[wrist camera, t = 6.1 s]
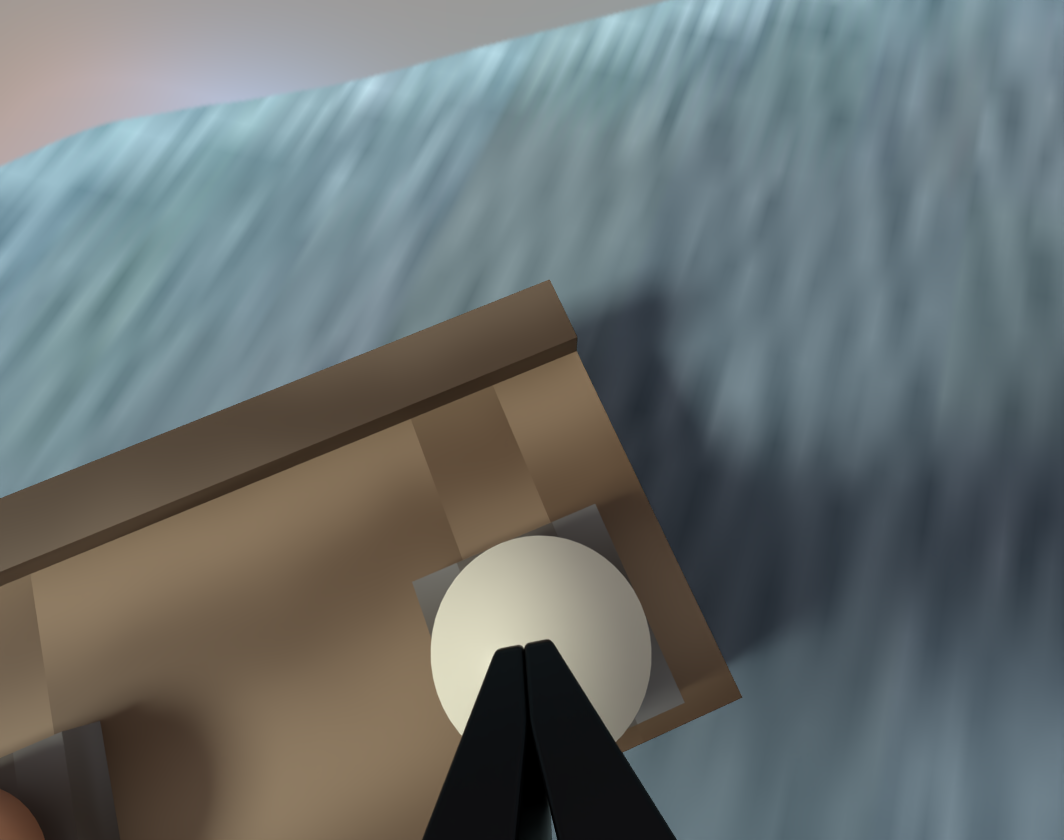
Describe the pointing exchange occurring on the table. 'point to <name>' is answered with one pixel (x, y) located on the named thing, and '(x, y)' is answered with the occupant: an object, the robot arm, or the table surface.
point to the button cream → (543, 625)
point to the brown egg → (17, 820)
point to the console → (311, 590)
